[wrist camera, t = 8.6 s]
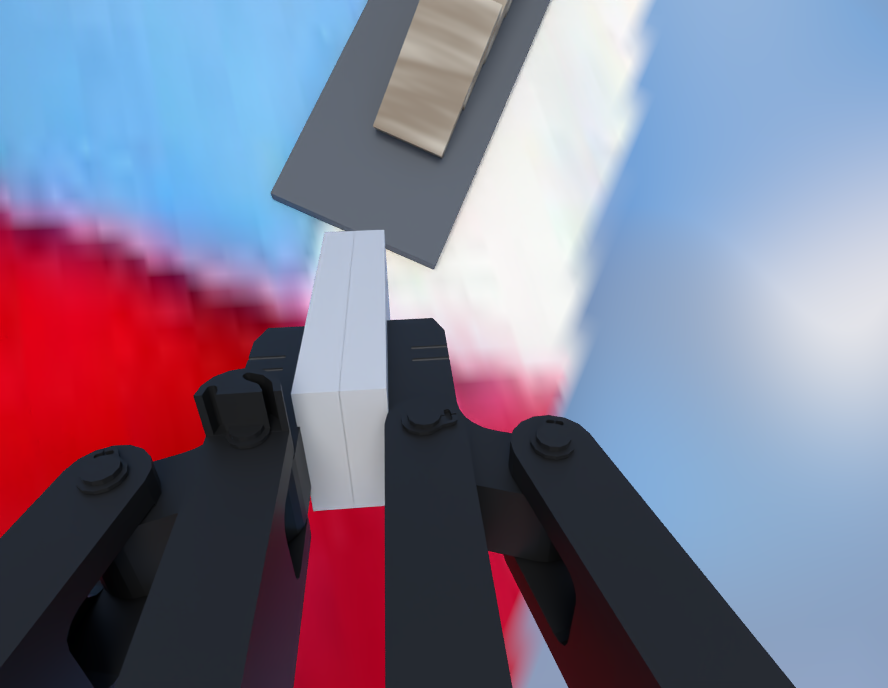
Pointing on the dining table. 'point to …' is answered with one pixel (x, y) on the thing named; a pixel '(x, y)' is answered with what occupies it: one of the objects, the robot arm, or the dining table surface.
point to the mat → (387, 158)
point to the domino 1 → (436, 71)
